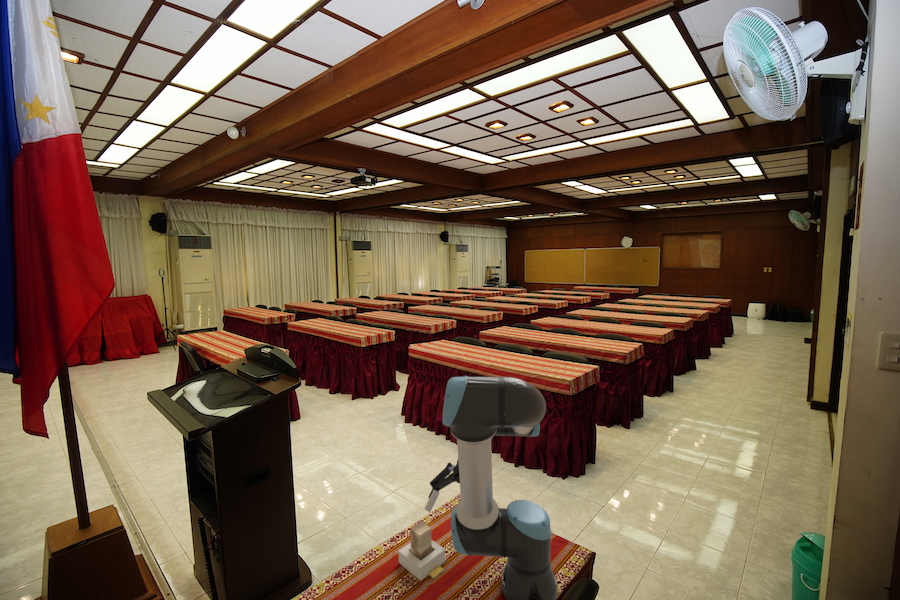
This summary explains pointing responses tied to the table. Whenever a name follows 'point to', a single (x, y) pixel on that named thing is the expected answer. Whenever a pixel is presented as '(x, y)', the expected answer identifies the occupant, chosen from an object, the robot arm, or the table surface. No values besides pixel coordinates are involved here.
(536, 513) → the robot arm
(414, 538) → the beech peg
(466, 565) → the table surface
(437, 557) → the socket block
